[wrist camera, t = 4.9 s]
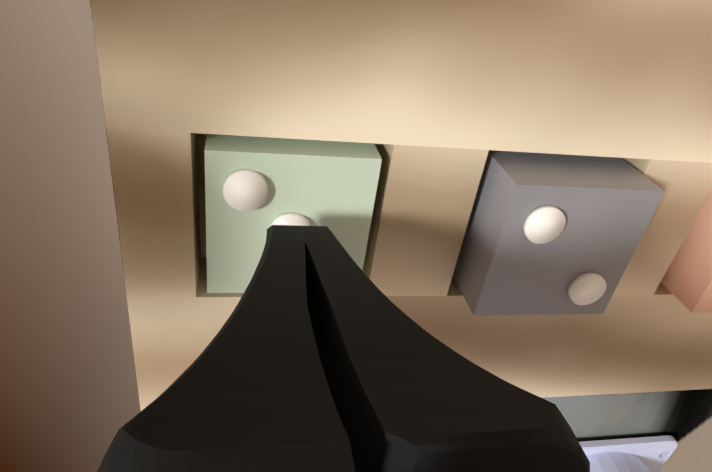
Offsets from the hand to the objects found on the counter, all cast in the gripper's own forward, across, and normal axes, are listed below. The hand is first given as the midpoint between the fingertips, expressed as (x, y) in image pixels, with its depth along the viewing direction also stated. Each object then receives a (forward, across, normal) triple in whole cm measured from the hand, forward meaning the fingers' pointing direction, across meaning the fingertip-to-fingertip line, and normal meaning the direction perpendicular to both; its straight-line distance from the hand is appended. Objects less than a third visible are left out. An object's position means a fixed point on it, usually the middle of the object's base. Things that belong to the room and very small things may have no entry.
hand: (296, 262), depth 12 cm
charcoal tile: (+2, -7, 0) cm, 7 cm away
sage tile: (+3, 0, 0) cm, 3 cm away
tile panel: (+4, -7, 0) cm, 8 cm away
